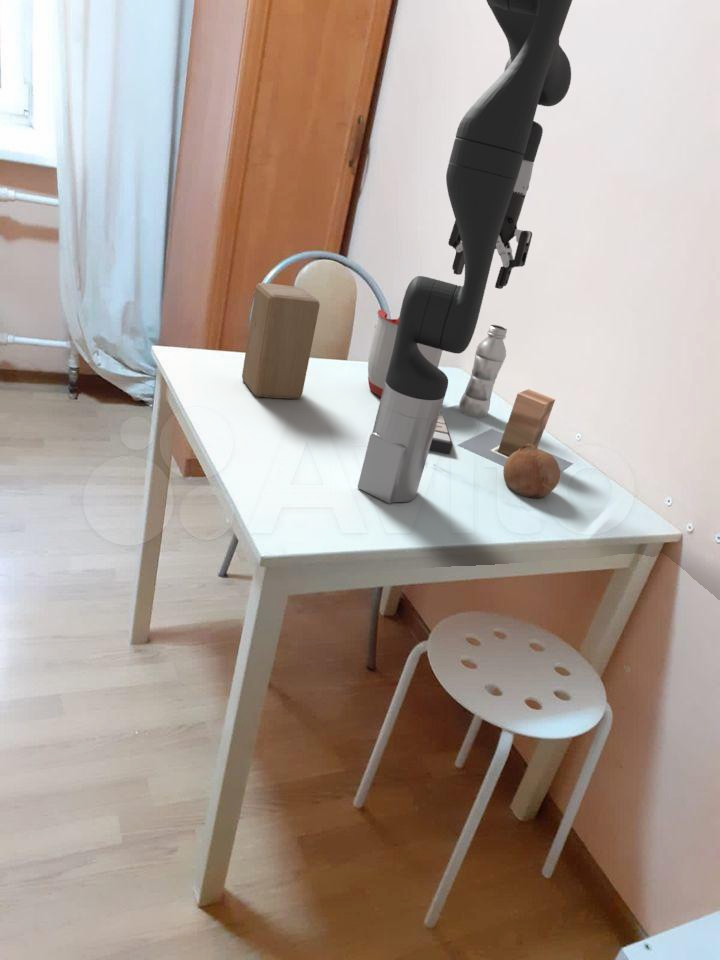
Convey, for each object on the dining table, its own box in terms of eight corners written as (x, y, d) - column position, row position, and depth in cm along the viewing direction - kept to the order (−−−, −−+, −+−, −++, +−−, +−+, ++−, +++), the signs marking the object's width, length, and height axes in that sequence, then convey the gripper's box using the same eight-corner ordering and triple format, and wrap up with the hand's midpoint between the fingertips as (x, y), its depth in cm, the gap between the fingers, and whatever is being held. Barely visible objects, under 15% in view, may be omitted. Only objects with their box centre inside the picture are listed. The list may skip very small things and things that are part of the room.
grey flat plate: (542, 490, 128) (544, 483, 128) (455, 450, 136) (457, 444, 135) (570, 468, 141) (573, 462, 140) (490, 433, 149) (491, 428, 148)
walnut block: (523, 463, 135) (533, 434, 132) (497, 451, 137) (507, 423, 134) (534, 456, 139) (544, 428, 136) (508, 445, 141) (518, 417, 139)
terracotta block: (534, 434, 132) (544, 404, 129) (507, 423, 134) (517, 393, 132) (544, 428, 136) (555, 399, 134) (518, 417, 139) (528, 389, 136)
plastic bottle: (452, 415, 154) (479, 324, 145) (462, 408, 160) (489, 320, 151) (479, 425, 152) (508, 334, 143) (489, 418, 157) (517, 330, 149)
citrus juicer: (392, 377, 169) (414, 293, 160) (443, 406, 158) (469, 318, 149) (341, 379, 159) (360, 289, 150) (391, 411, 148) (415, 316, 139)
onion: (499, 500, 128) (495, 444, 127) (551, 495, 128) (547, 439, 127) (514, 507, 118) (510, 447, 117) (569, 502, 119) (566, 441, 118)
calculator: (445, 414, 143) (454, 440, 129) (439, 434, 145) (447, 462, 131) (391, 403, 142) (395, 427, 128) (386, 423, 144) (389, 449, 130)
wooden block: (239, 379, 145) (255, 280, 136) (286, 381, 149) (303, 286, 141) (254, 398, 137) (271, 295, 128) (302, 400, 142) (322, 301, 133)
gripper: (459, 174, 122) (434, 270, 129) (535, 195, 116) (504, 293, 123) (478, 178, 128) (453, 269, 135) (551, 197, 122) (521, 292, 129)
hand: (477, 281), depth 129 cm, fingers open, 8 cm apart
